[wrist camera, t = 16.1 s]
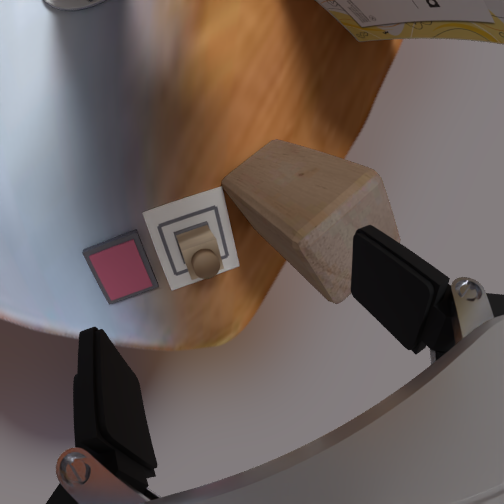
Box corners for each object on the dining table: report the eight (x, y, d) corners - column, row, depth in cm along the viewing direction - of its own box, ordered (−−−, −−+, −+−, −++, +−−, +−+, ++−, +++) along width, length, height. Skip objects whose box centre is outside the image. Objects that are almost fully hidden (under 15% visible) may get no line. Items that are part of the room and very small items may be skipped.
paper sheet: (142, 212, 37) (142, 213, 36) (221, 186, 39) (222, 186, 39) (171, 290, 44) (171, 291, 43) (239, 265, 46) (240, 266, 46)
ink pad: (83, 249, 36) (82, 254, 35) (136, 229, 37) (136, 233, 36) (109, 300, 40) (109, 305, 39) (157, 283, 42) (158, 287, 41)
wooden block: (274, 135, 39) (382, 167, 22) (306, 189, 44) (405, 245, 28) (216, 180, 38) (293, 245, 22) (255, 231, 44) (336, 311, 28)
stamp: (173, 232, 39) (182, 257, 34) (206, 220, 41) (221, 243, 35) (183, 261, 42) (193, 289, 36) (214, 250, 43) (230, 276, 37)
